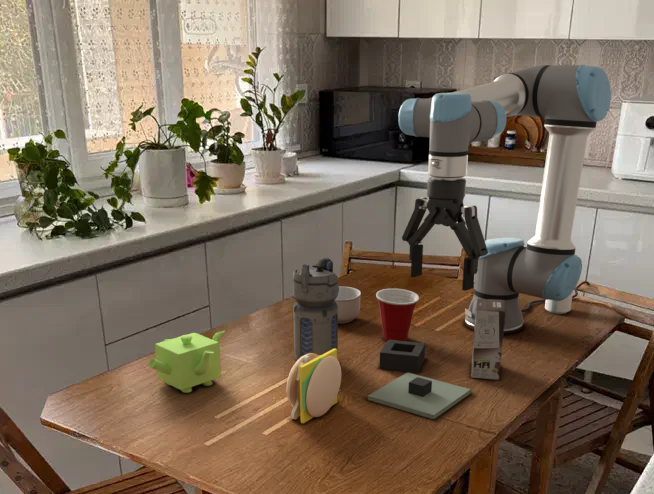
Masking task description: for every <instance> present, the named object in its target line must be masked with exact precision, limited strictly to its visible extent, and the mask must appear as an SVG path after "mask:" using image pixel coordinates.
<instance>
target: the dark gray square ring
mask: <svg viewBox="0 0 654 494" xmlns="http://www.w3.org/2000/svg"><path fill="white" fill-rule="evenodd" d="M425 359H426V343H425V342H417V341H408V340H406V341H398V340H388V341H386V342H385V344H384V345H383V347H382V349H381V350H380V352H379V369H384V370H391V371H400V372H401V371H402V372H408V373H419V371H420V369H421V367H422V365H423V364H424V361H425Z"/></svg>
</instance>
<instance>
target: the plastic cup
mask: <svg viewBox="0 0 654 494" xmlns="http://www.w3.org/2000/svg"><path fill="white" fill-rule="evenodd" d="M375 297H376V299H377V302H378V309H379V315H380V323H381V328H382V336H383V340H384V341H386V342H387V341H388V340H398V341H408V340H407V339H408V336H409V331H410V328H411V324H412V319H413V316H414V311H415V307H416V305H417V303H418V302H419V299H420V296H419V294H418V293H416V292H415V291H411V290H408V289H402V288H383V289H380V290H378V291H377V292H376V293H375Z"/></svg>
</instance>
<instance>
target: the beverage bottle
mask: <svg viewBox="0 0 654 494" xmlns="http://www.w3.org/2000/svg"><path fill="white" fill-rule="evenodd" d="M311 267H312V268H313V269H311V268H310V264H304V263H303V265H302V267H301V271H299V270H298V269H299V268H296V269H294V270H293V273H292V296H293V298H294V299H295V301H296V302H294V303H293V305H292V307H293V308H292V309H293V310H292V311H293V348H294V349H293V357H294V359H293V361H294V362H295V363H296V361H297V360H298V359H299V358H301V357H302V356H304V355H306V354H309V353H314V354H317V355H322V354H324V353H326V352H328V351H330V350H332V349H334V348H335V349H337V360H338V361H339V358H338V357H339V345H338V344H339V343H338V342H339V330H338V329H339V325H338V324H339V323H338V304H337V303H336V302H335V299H336V298H337V296H338V293H339V287H340V284H339V281H338V275H337V274H336V273H335V272H334V262H333V261H332V260H331V259H330V258H329V257H322V258H321V259H319V260H318V262H317V263H316V264H313V265H311Z"/></svg>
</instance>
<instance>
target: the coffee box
mask: <svg viewBox="0 0 654 494" xmlns="http://www.w3.org/2000/svg"><path fill="white" fill-rule="evenodd" d="M505 313H506V308H505V300H494V299H487V300H485V299H477V306H476V316H475V329H474V330H473V344H472V359H471V374H470V377H471V378H472V379H484V380H495V381H498V380H499V379H500V371H501V361H502V353H503V345H504V344H503V343H504V335H505V334H504V323H505Z"/></svg>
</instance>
